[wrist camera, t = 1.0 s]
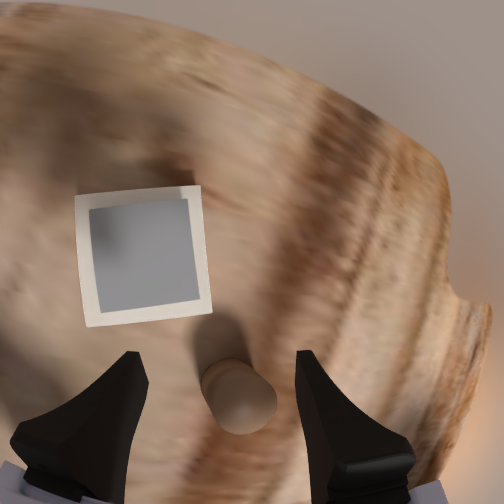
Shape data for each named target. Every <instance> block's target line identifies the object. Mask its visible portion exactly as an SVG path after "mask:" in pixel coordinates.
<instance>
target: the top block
mask: <svg viewBox="0 0 504 504" xmlns="http://www.w3.org/2000/svg"><path fill="white" fill-rule="evenodd" d="M89 223H90V235H91V246H92V255H93V264H94V272H95V279H96V286H97V293H98V299H99V306H100V311H101V313H107V312H115V311H122V310H130V309H137V308H144V307H152V306H159V305H166V304H172V303H179V302H186V301H192V300H199V299H200V294H199V287H198V280H197V273H196V265H195V258H194V250H193V242H192V233H191V224H190V216H189V206H188V199H177V200H166V201H157V202H147V203H138V204H129V205H121V206H113V207H105V208H97V209H90V210H89Z"/></svg>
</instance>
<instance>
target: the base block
mask: <svg viewBox="0 0 504 504" xmlns="http://www.w3.org/2000/svg"><path fill="white" fill-rule="evenodd" d="M177 199H188V206H189V216H190V224H191V233H192V242H193V250H194V258H195V265H196V273H197V280H198V287H199V294H200V299H199V300H192V301H186V302H179V303H172V304H166V305H159V306H152V307H144V308H137V309H130V310H122V311H115V312H107V313H101V311H100V306H99V299H98V293H97V286H96V279H95V272H94V264H93V255H92V246H91V235H90V223H89V210H90V209H97V208H105V207H113V206H121V205H129V204H138V203H147V202H157V201H166V200H177ZM75 225H76V243H77V256H78V267H79V277H80V286H81V294H82V301H83V308H84V315H85V321H86V327H96V326H106V325H117V324H127V323H136V322H145V321H154V320H162V319H170V318H178V317H186V316H194V315H201V314H209V313H213V311H212V303H211V294H210V285H209V276H208V266H207V256H206V246H205V235H204V224H203V213H202V201H201V188H200V185H194V186H176V187H160V188H147V189H134V190H122V191H112V192H102V193H92V194H83V195H75Z"/></svg>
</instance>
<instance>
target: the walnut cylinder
mask: <svg viewBox="0 0 504 504" xmlns="http://www.w3.org/2000/svg"><path fill="white" fill-rule="evenodd" d="M201 391H202V394H203V396H204V398H205V400H206V402H207V404H208V406H209V408H210V410H211V412H212V414H213V416H214V417H215V419H216V421H217V423H218V424H219V425H220V427H222V428H223V429H224V430H226V431H228V432H230V433H233V434H249V433H253V432H255V431H257V430H259V429H261V428H262V427H264V426H265V425H266V424H267V423H268V422H269V421H270V420H271V419H272V417H273V415H274V413H275V411H276V408H277V396H276V392H275V390H274V389H273V387H272V386H271V385H270V384H269V383H268V382H267V381H266V380H265V379H263V378H262V377H261V376H260V375H259V374H258V373H257V372H256V371H254V370H253V369H252V368H251V367H250V366H249V365H248V364H246V363H245V362H243V361H241V360H239V359H234V358H228V359H222V360H219V361H217V362H215V363H214V364H212V365H211V366H210V367H209V368H208V369H207V370H206V372H205V373H204V375H203V377H202V381H201Z"/></svg>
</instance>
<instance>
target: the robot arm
mask: <svg viewBox="0 0 504 504" xmlns="http://www.w3.org/2000/svg"><path fill="white" fill-rule="evenodd" d="M148 385H149V381H148V379H147V376H146V373H145V370H144V367H143V363H142V360H141V357H140V354H139V352H133V351H127V352H126V353H125V354H124V355H122V356H121V357H120V358H119V359H118V360H117V361H116V362H115V363H114V364H113V365H112V366H111V367H110V368H109V369H108V370H107V371H106V372H105V373H104V374H103V375H102V376H101V377H99V378H98V379H97V380H96V381H95V382H94V383H92V384H91V385H90V386H89V387H88V388H87V389H85V390H84V391H83V392H81V393H80V394H79V395H77V396H76V397H74V398H73V399H71V400H70V401H68V402H67V403H65V404H63V405H61V406H60V407H58V408H56V409H54V410H52V411H50V412H48V413H46V414H44V415H41V416H39V417H36V418H33V419H30V420H27V421H24V422H21V423H20V424H19V425H18V427H17V429H16V430H15V432H14V434H13V436H12V438H11V439H10V445H11V447H12V449H13V450H14V451H15V453H16V454H17V455H18V456H19V457H20V458H21V459H22V460H23V462H24V463H25V464H26V465H27V466H28V468H27V470H26V471H25V470H24V469H23V468H21V467H19V466H17V465H14V464H12V463H10V462H8V461H4V463H3V465H2V467H1V469H0V504H124V496H125V483H126V473H127V466H128V459H129V454H130V448H131V444H132V440H133V436H134V433H135V430H136V427H137V424H138V421H139V419H140V416H141V413H142V410H143V407H144V404H145V400H146V396H147V390H148ZM295 389H296V399H297V405H298V409H299V414H300V418H301V423H302V427H303V431H304V436H305V440H306V446H307V454H308V463H309V474H310V487H311V502H312V504H448V501H447V498H446V495H445V493H444V490H443V488H442V485H441V482H440V480H436V481H433V482H430V483H427V484H424V485H421V486H418V487H415V488H413V489H411V490H409V491H408V489H407V486H406V485H408V479H407V476H406V475H407V474H408V473H409V471H410V470H411V468H412V467H413V465H414V463H415V461H416V456H415V454H414V451H413V449H412V447H411V445H410V443H409V442H408V440H407V438H405V437H403V436H401V435H399V434H397V433H395V432H393V431H391V430H389V429H387V428H385V427H384V426H382V425H380V424H379V423H377V422H376V421H375V420H373V419H372V418H370V417H369V416H368V415H366V414H365V413H364V412H362V411H361V410H360V409H359V408H358V407H357V406H355V405H354V404H353V403H352V402H351V401H350V400H349V399H348V398H347V397H346V396H345V395H344V394H343V393H342V392H341V390H340V389H339V388H338V387H337V386H336V385H335V384H334V382H333V381H332V380H331V379H330V377H329V376H328V375H327V373H326V372H325V371H324V369H323V368H322V366H321V365H320V363H319V362H318V360H317V359H316V357H315V355H314V353H313V352H312V351H311V350H302V351H297V355H296V373H295Z"/></svg>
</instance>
